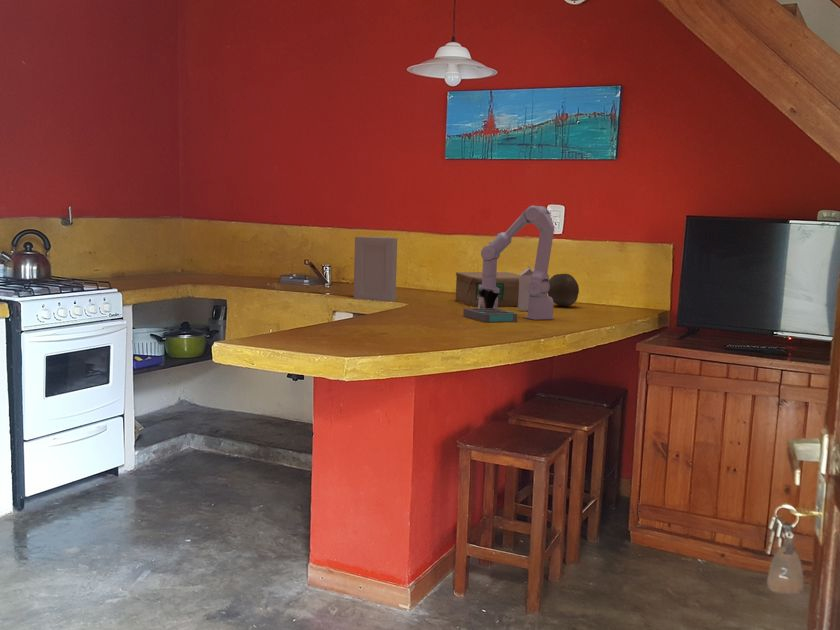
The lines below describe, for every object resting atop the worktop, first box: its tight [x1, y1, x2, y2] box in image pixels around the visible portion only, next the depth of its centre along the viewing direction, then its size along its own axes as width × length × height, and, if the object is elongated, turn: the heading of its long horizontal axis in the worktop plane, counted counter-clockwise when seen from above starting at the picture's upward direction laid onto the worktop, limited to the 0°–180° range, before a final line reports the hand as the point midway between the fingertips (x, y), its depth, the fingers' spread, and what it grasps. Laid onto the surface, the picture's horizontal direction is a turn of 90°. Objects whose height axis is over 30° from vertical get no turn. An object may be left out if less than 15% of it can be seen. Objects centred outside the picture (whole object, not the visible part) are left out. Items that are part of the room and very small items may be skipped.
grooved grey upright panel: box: [353, 236, 398, 302], centre depth 374 cm, size 19×15×28 cm
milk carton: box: [517, 265, 534, 312], centre depth 347 cm, size 7×7×19 cm
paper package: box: [454, 271, 520, 308], centre depth 369 cm, size 27×26×14 cm
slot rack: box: [462, 307, 518, 323], centre depth 315 cm, size 14×18×3 cm
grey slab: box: [477, 297, 499, 309], centre depth 331 cm, size 8×2×7 cm, turn 113°
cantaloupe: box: [547, 273, 580, 308], centre depth 366 cm, size 14×14×15 cm
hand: (487, 309), depth 332 cm, fingers open, 3 cm apart
